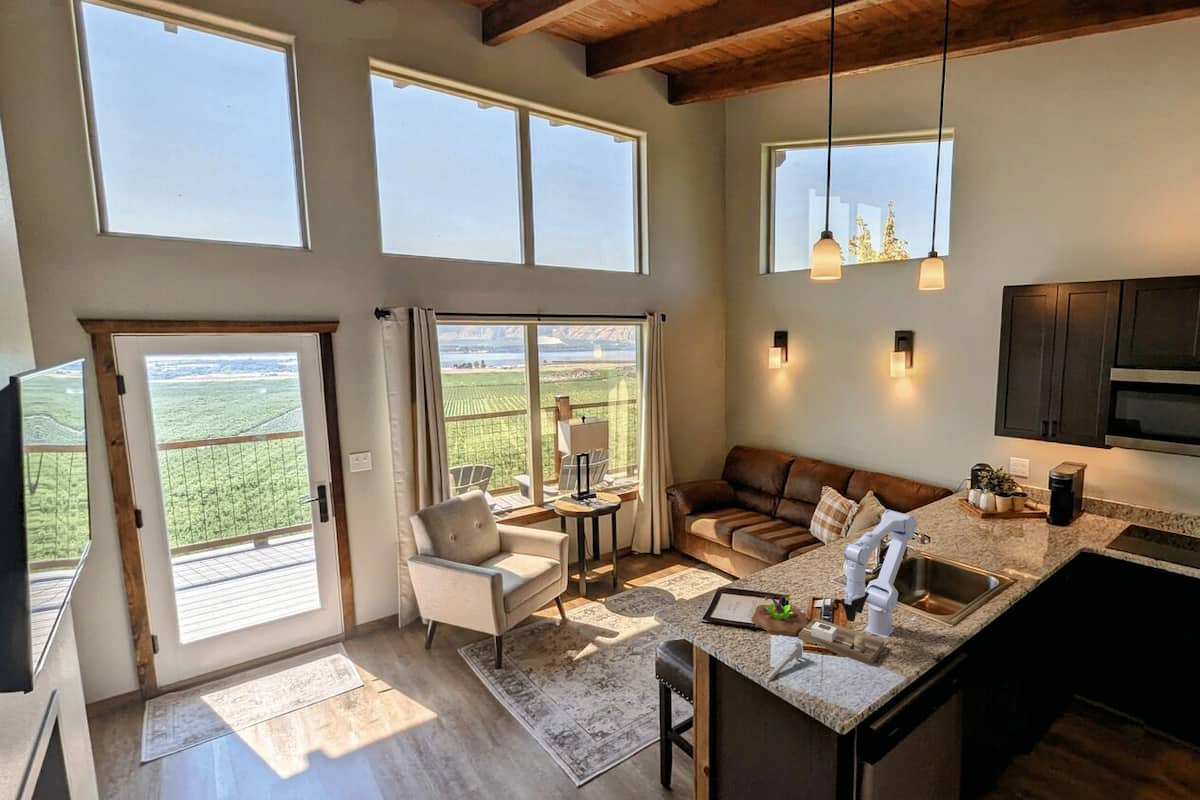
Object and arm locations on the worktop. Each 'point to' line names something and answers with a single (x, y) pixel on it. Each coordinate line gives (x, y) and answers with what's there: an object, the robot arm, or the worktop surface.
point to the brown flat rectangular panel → (845, 642)
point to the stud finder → (824, 631)
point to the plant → (779, 618)
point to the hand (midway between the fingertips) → (854, 616)
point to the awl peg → (859, 644)
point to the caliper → (786, 660)
